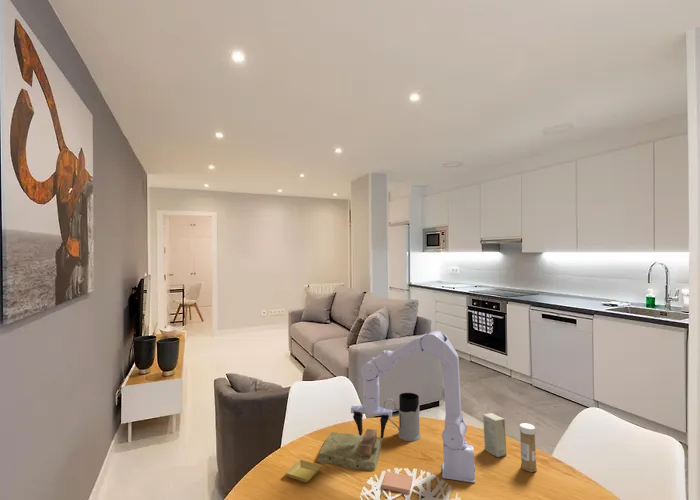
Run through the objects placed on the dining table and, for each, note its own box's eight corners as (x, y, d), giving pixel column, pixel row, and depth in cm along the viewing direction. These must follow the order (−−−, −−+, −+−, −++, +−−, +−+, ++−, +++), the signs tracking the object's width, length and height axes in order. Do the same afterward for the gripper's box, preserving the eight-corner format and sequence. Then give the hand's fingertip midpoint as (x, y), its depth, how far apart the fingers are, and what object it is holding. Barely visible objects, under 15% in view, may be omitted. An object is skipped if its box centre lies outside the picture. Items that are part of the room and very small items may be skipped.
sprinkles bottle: (539, 472, 108) (538, 428, 109) (525, 472, 108) (524, 428, 109) (531, 464, 113) (530, 422, 114) (518, 464, 113) (516, 422, 114)
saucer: (284, 479, 105) (284, 472, 105) (300, 465, 113) (300, 458, 113) (307, 487, 101) (307, 479, 101) (322, 472, 109) (322, 465, 109)
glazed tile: (412, 476, 104) (409, 490, 98) (412, 481, 104) (409, 495, 98) (386, 471, 107) (381, 484, 100) (386, 476, 107) (381, 490, 100)
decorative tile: (329, 439, 131) (329, 429, 131) (382, 444, 127) (382, 434, 127) (315, 466, 112) (315, 455, 113) (375, 473, 108) (375, 462, 109)
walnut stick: (376, 439, 123) (376, 429, 123) (370, 457, 111) (370, 446, 112) (367, 438, 124) (367, 428, 124) (359, 456, 112) (359, 445, 113)
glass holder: (422, 441, 128) (422, 400, 129) (384, 440, 129) (384, 399, 130) (418, 430, 137) (418, 392, 138) (383, 429, 137) (383, 391, 138)
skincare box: (507, 455, 118) (505, 419, 119) (497, 458, 117) (496, 421, 117) (492, 446, 124) (492, 412, 125) (483, 449, 123) (482, 413, 123)
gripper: (393, 394, 123) (393, 433, 122) (354, 390, 127) (354, 428, 126) (390, 401, 116) (390, 442, 115) (349, 397, 120) (349, 437, 119)
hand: (371, 435), depth 120 cm, fingers open, 7 cm apart
